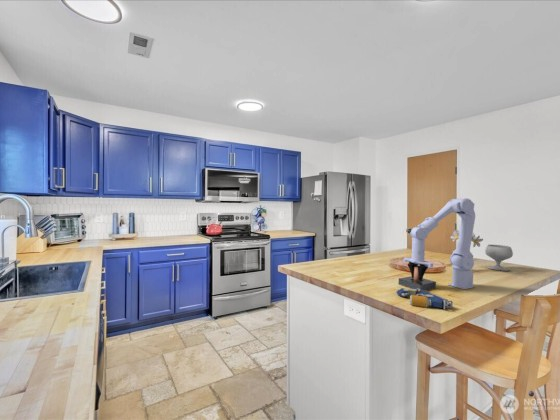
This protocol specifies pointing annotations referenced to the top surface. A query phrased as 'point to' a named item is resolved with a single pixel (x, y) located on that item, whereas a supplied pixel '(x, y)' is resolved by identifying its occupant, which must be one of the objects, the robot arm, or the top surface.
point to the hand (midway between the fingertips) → (417, 278)
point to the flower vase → (474, 239)
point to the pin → (416, 274)
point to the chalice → (498, 255)
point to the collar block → (417, 283)
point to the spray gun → (424, 298)
